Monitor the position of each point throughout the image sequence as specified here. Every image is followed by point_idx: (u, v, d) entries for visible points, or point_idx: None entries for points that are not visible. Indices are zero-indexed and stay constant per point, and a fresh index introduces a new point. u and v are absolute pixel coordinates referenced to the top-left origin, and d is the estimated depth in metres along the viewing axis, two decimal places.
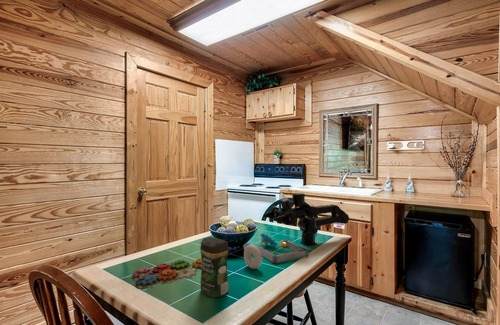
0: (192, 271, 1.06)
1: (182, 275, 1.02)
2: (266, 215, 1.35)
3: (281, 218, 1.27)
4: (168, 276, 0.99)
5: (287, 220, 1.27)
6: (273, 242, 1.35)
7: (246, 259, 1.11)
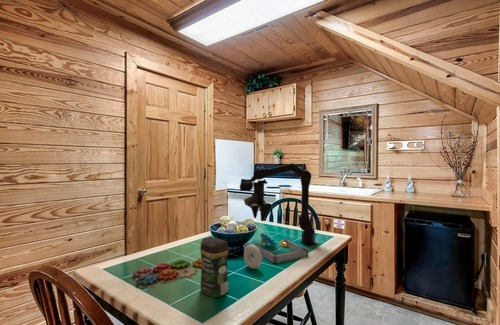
0: (192, 271, 1.06)
1: (182, 275, 1.03)
2: (255, 215, 1.49)
3: (263, 214, 1.41)
4: (169, 276, 0.99)
5: (266, 210, 1.40)
6: (273, 242, 1.35)
7: (246, 259, 1.11)
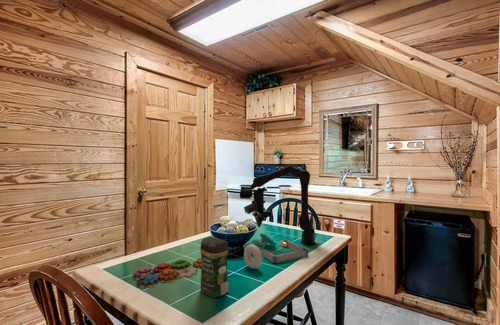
0: (193, 270, 1.07)
1: (183, 274, 1.03)
2: None
3: (259, 220, 1.45)
4: (169, 275, 1.00)
5: None
6: (272, 242, 1.35)
7: (246, 259, 1.11)
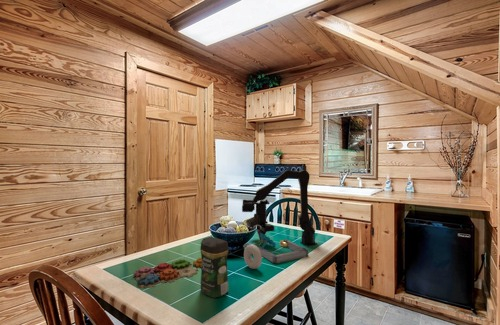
0: (193, 270, 1.07)
1: (183, 274, 1.03)
2: None
3: None
4: (170, 275, 1.00)
5: None
6: (272, 242, 1.35)
7: (246, 259, 1.11)
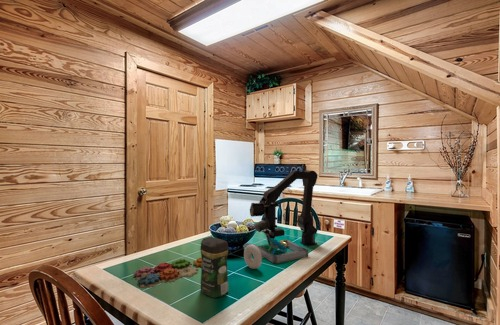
0: (193, 270, 1.07)
1: (184, 274, 1.03)
2: None
3: None
4: (170, 275, 1.00)
5: None
6: None
7: (246, 259, 1.11)
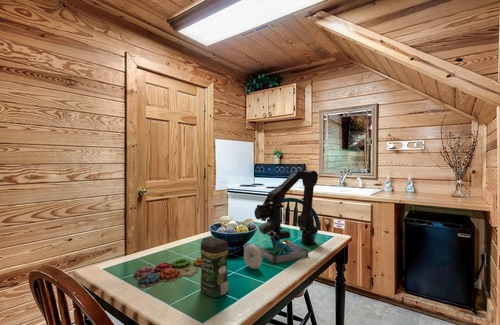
0: (194, 269, 1.07)
1: (184, 273, 1.04)
2: (274, 244, 1.32)
3: None
4: (170, 275, 1.00)
5: None
6: (289, 250, 1.23)
7: (246, 259, 1.11)
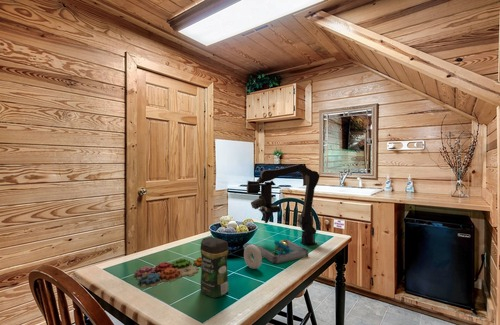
0: (194, 269, 1.08)
1: (184, 273, 1.04)
2: None
3: (267, 216, 1.38)
4: (171, 274, 1.00)
5: (270, 211, 1.37)
6: None
7: (246, 259, 1.11)
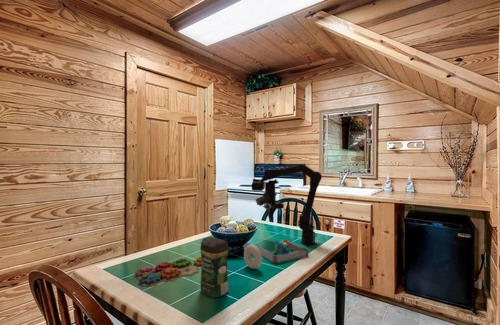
0: (194, 269, 1.08)
1: (185, 273, 1.04)
2: None
3: (271, 212, 1.47)
4: (171, 274, 1.01)
5: None
6: (288, 250, 1.23)
7: (246, 259, 1.11)
